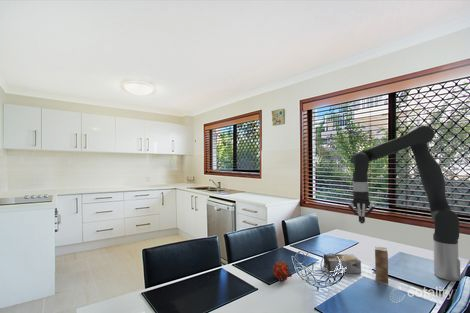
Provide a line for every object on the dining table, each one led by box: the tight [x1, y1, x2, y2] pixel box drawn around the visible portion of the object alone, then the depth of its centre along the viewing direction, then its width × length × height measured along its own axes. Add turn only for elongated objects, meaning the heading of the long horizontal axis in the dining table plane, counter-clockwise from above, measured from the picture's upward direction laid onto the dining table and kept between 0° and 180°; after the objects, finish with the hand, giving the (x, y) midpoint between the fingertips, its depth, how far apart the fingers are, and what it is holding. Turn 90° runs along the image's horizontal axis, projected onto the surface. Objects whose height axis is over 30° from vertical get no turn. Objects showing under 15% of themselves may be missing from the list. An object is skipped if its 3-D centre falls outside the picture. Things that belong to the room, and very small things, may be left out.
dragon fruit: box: [272, 260, 293, 282], centre depth 120 cm, size 8×8×12 cm
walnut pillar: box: [374, 246, 389, 284], centre depth 117 cm, size 5×5×15 cm
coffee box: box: [323, 253, 362, 274], centre depth 129 cm, size 9×6×16 cm
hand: (361, 223), depth 129 cm, fingers closed
